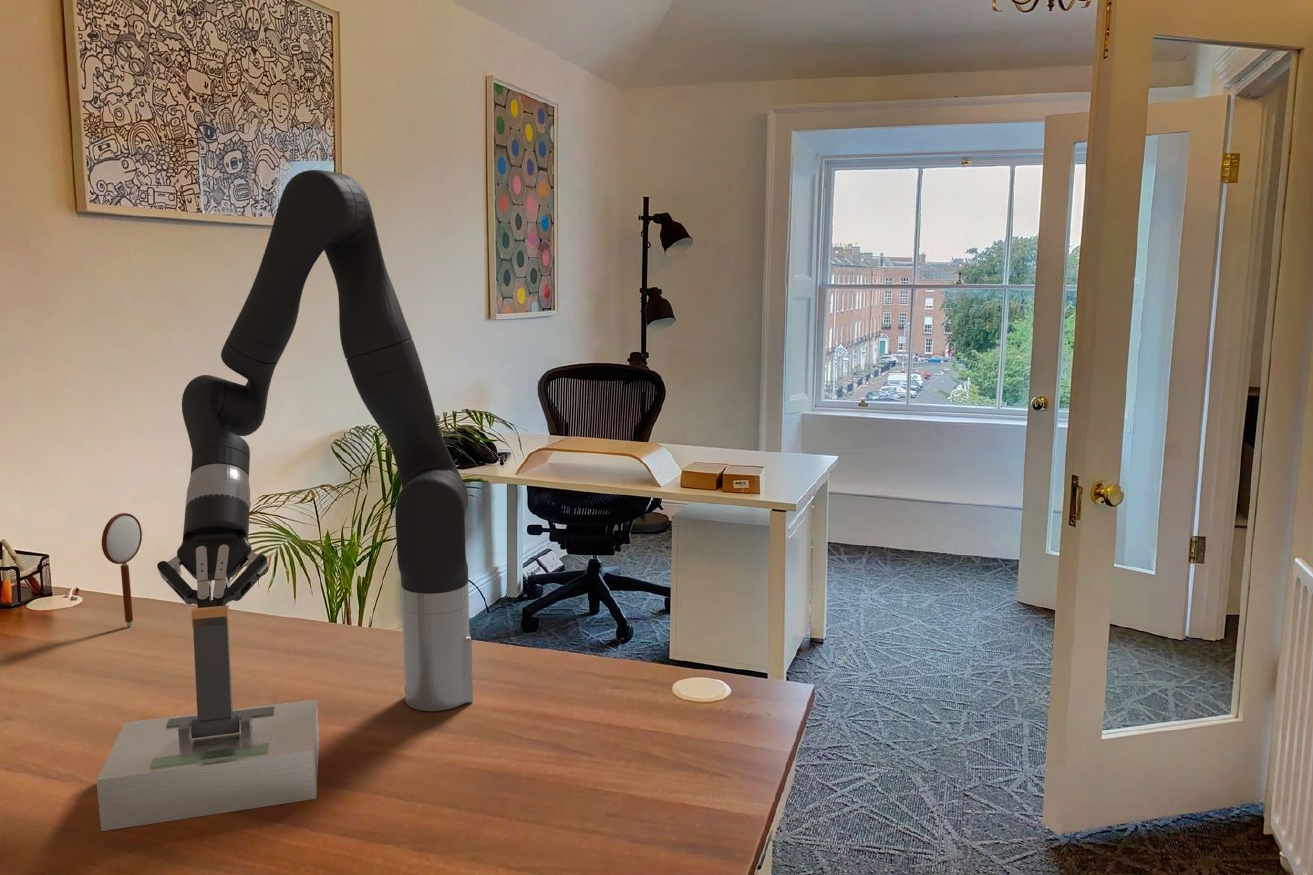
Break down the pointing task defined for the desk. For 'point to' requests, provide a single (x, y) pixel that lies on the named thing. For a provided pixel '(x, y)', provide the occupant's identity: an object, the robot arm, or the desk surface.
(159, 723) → the breaker box
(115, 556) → the magnifying glass
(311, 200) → the robot arm
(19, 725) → the desk surface
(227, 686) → the breaker lever
